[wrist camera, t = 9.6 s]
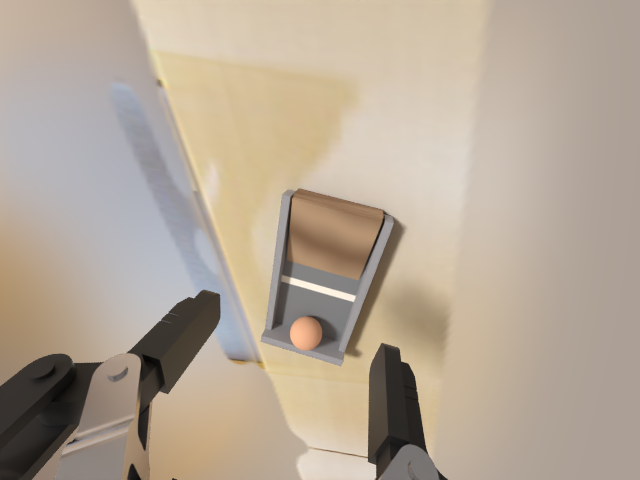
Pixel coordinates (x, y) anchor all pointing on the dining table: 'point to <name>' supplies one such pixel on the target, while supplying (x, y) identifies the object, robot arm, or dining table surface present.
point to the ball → (306, 333)
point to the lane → (316, 294)
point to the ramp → (331, 233)
